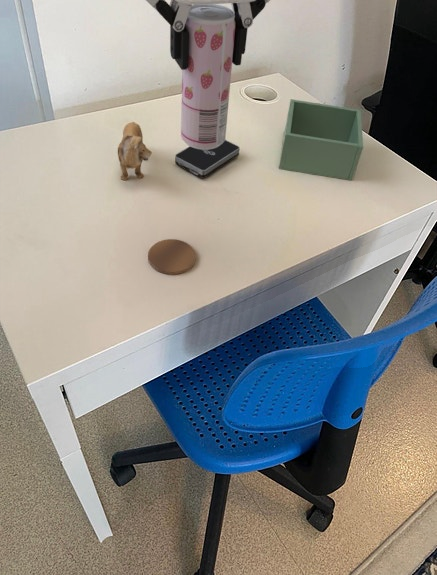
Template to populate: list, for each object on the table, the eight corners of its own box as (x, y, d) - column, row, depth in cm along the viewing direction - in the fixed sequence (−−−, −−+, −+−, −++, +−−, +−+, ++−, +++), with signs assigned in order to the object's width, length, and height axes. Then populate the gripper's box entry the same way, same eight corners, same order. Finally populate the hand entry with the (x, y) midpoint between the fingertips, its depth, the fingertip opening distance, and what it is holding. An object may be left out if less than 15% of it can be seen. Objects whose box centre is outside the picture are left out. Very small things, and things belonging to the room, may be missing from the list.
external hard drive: (173, 165, 89) (173, 155, 88) (211, 142, 96) (212, 132, 94) (203, 181, 87) (203, 171, 85) (240, 156, 93) (241, 147, 92)
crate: (350, 142, 100) (360, 109, 95) (352, 180, 91) (363, 146, 86) (284, 131, 101) (290, 99, 96) (278, 168, 91) (285, 134, 86)
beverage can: (201, 122, 66) (208, -2, 55) (234, 139, 64) (247, 14, 53) (171, 137, 63) (172, 9, 52) (204, 156, 61) (212, 26, 50)
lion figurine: (153, 190, 84) (152, 143, 77) (122, 192, 83) (118, 145, 76) (142, 143, 94) (140, 98, 87) (113, 145, 92) (110, 99, 86)
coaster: (199, 246, 75) (199, 243, 75) (190, 278, 71) (190, 275, 70) (154, 238, 76) (154, 235, 75) (142, 270, 71) (142, 267, 71)
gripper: (131, -145, 38) (141, 83, 52) (326, -136, 43) (289, 71, 56) (112, -159, 43) (125, 54, 56) (289, -150, 48) (263, 44, 61)
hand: (207, 60), depth 56 cm, fingers closed on beverage can, 5 cm apart
